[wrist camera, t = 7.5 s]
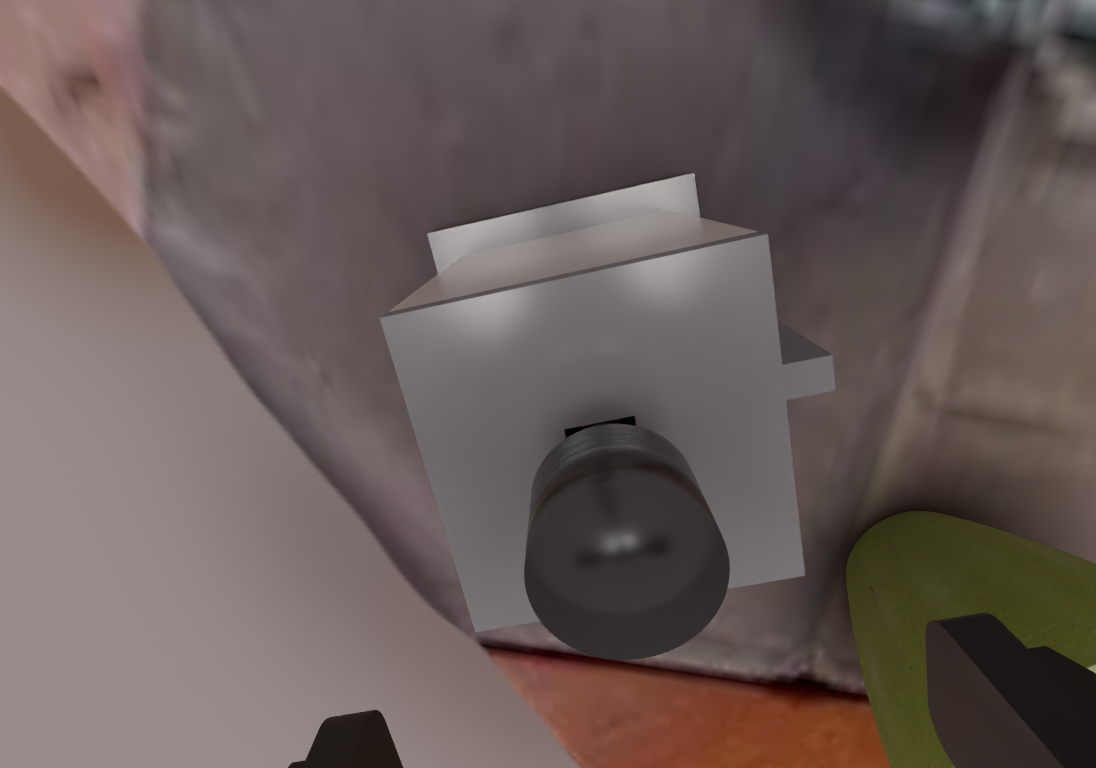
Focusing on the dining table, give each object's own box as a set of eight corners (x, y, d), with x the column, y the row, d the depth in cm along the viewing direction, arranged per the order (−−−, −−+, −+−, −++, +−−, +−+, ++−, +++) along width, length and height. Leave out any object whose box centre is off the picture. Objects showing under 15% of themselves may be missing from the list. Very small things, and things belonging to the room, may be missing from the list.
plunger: (485, 278, 29) (369, 428, 11) (655, 241, 29) (816, 338, 11) (524, 433, 32) (478, 761, 14) (681, 402, 31) (849, 703, 13)
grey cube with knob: (433, 231, 32) (312, 277, 16) (708, 168, 31) (861, 153, 15) (494, 460, 36) (444, 675, 20) (740, 412, 34) (889, 600, 19)
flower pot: (766, 475, 36) (921, 693, 20) (1038, 422, 34) (1420, 612, 19) (794, 681, 40) (939, 988, 25) (1036, 641, 39) (1345, 938, 23)
